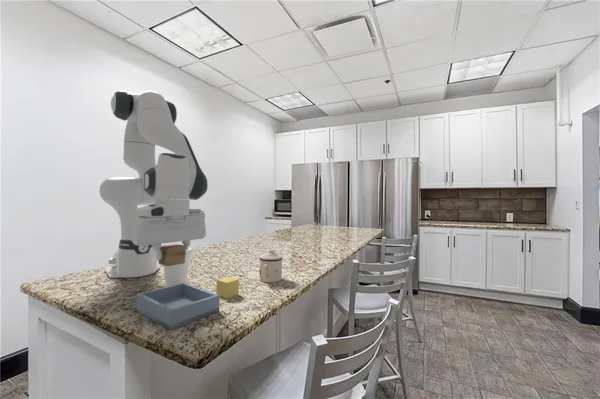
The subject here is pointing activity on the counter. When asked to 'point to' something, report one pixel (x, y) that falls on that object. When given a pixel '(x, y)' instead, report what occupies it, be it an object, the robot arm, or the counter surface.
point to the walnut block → (173, 254)
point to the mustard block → (227, 287)
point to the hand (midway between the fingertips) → (171, 257)
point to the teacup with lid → (270, 267)
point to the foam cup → (177, 271)
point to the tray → (177, 304)
